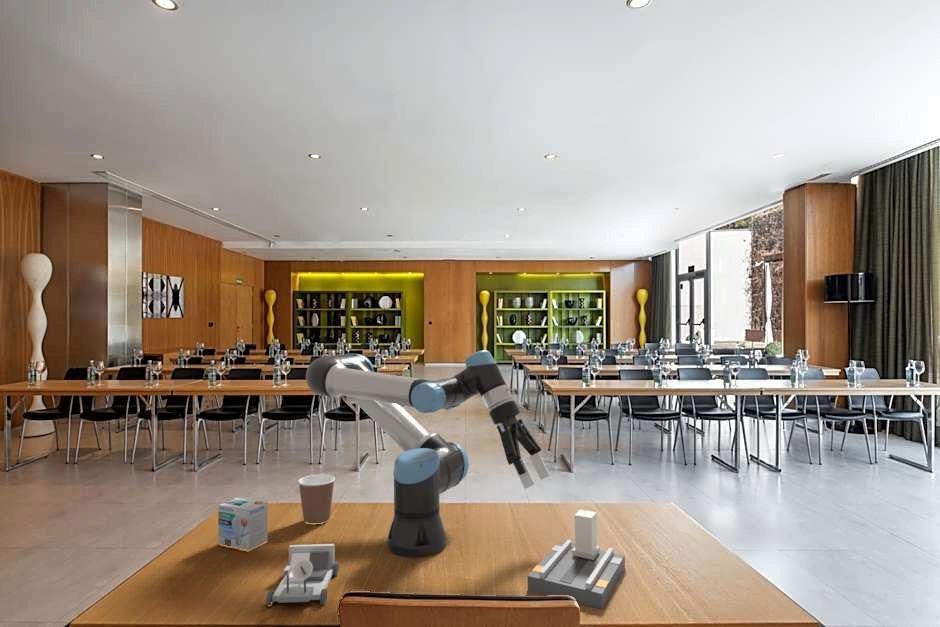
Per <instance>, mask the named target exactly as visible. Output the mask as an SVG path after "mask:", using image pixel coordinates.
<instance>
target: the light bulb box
mask: <svg viewBox="0 0 940 627" xmlns="http://www.w3.org/2000/svg"><path fill="white" fill-rule="evenodd" d="M268 504H269V503H268V501H262V500H256V499H249V498H243V497H235V498H233V499H231V500H228V501H226V502H223V503H221V504H218V522H217V523H218V526H217V527H218V528H217V530H218V532H217V535H218V536H217V537H218V538H217V539H218V540H217V542H218V543H217V545H218V544H222V545H227V546H232V547H237V548H241V549H246V550H250V549H252V548H254V547H256V546H258V545H260V544H262V543H264V542H265V541H267V542H268V510H269V509H268Z"/></svg>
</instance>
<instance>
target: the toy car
mask: <svg viewBox="0 0 940 627" xmlns="http://www.w3.org/2000/svg"><path fill="white" fill-rule="evenodd" d="M339 564H340V563H339V561H335V543H324V544H323V543H322V544H321V543H320V544H319V543H318V544H315V543H314V544H290V545H289V546H288V562H286V564H285V566H284V569H283V578H282V580H281V581H280V583H279V585H278V586H277V588H276V589H275V590H273V589H272V590H271V589H269V590H268V592H267V594H266V600H265V602H266V603H265V604H266V607H267V606H268V605H271V602H273V601H274V602H278V603H279V604H280V603H282V604H283V603H284V604H285V603H307V602H308V603H309V602H310V601H319V604H320V606H325V605H326V603H327V601H328V587H329V584H330V581H331V579H332V576H333V577H337V576H338V574H339V570H340V569H339V567H340V566H339Z"/></svg>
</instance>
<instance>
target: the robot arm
mask: <svg viewBox="0 0 940 627" xmlns="http://www.w3.org/2000/svg"><path fill="white" fill-rule="evenodd" d="M464 364H465V367H466V368H464V369H463V370H461V371H460V372H458V373H456V374H455V375H453V376H451V377H446V378H442V379H435V380H431V379H423V378H415V377H408V376H402V375H395V374H388V373H383V372H382V373H381V372H375V370H374V366H373V363H372V362H371V361H370V359H369V358H368V357H367V356H365V355H363V354H359V353H344V354H336V355H325V356H321V357H318V358H316V359H314V360H313V361H312V362H311V363H310V364H309V366H308V367H307V369H306V373H305V381H306V385H307V387H308V388H309V390H310V391H311V392H312V393H314V394H316V395H318V396H322V397H327V398H340V397H342V398H343V399H344V400H345V401H346V402H347V403H348V404H353V405H354V404H355V405H357V406H358V407H359V408H361V410H363V411H364V413H365V414H367V416H368V417H369V418H370V419H371V420H373V422H374V423H376V424H377V425H378V427H379V428H380V429H381V430H382V431H383V432H384V433H385V434H386V435H387V436H388V437H389V438H390V439H392V440H393V441H394V442H395V444H396V445H398V446H399V448H400V449H401V450H402V451H403V452H401V453H400V454H398V455H397V457H396V458H395V460H394V467H393V471H392V472H393V473H392V474H393V502H394V503H393V506H394V507H393V508H394V509H393V510H394V512H393V513H394V515H393V518H392V522H391V525H390V528H389V531H388V535H387V539H386V541H387V549H388V551H390V552H391V553H392V554H394V555H397V556H401V557H406V558H421V557H427V556H432V555H435V554H437V553H440V552H441V551H442V550H444V549H446V546H447V532H446V531H445V527H444V524H443V520H442V517H441V513H440V495H442V494H443V493H444V492H446V491H448V490H450V489H451V488H454V487H456V486H457V485H459V484H460V482H462V481H463V480H464V479H465V478H466V476H467V474H468V472H469V471H468V470H469V466H470V464H469V457H468V454H467V452H466V450H465V449H464V448H463V447H462V445H460V444H458V443H456V442H452V441H448V442H447V441H446V440H445V439H444V438H443V437H442V436H441V435H440V434H439V433H430V432H429V431H428V430H427V429H426V428H425V427H424V426H423V425H422V424H421V423H419V422H418V421H417V419H415V418H414V417H413V416H412V415H411V414H410V413H409V412H408V411H407V410H406V409H405V408H404V406H406V407H409V408H414V409H416V410H417V411H418V412H419V413H423V414H428V413H430V414H431V413H436V412H437V411H441V410H443V409H444V410H446V411H449V410H452V409H454V408H456V407H459V406H460V405H461V404H462V403H465V402H466V401H467V400H470V399H471V398H473V397H474V396H476V395H480V398H481V399H482V401H483V404H484V406H485V408H486V410H487V411H489V413H488V414H489V416H490V418H491V421H492V423H493V424H494V425H496V429H497V430H498V433H499V437H500V439H501V443H502V447H503V451H504V455H505V458H506V461H507V464H508V465H513V467H514V469H515V471H516V473H517V475H518V477H519V479H520V481H521V484H522V485H523V488H524V489H525V490H526V489H528V488H530V487H532V486H534V485H536V482H535V480H534V478H533V476H532V474H531V472H530V470H529V468H528V466H527V463H526V462H525V459H524V458H522V457H521V450H520V445H521V446H522V448H524V449H525V451H526V452H527V453H528V454H529V455H530V456H529V459H530V461H531V463H532V465H533V467H534V469H535V471H536V473H537V475H538V477H539V480H544V479H546V478H548V477H550V476H551V474H550V472H549V470H548V468H547V465H546V464H545V461H544V459H543V458H542V455H541V454H540V453H541V451H542V448H541V447H540V445H539V444H538V443H537V441H536V440H535V439H534V437H533V436H532V434H531V432H530V431H529V429H528V428H527V427H526V426H525V423H524V421H523V420H522V418H519V419H517V418H516V416H518V415H519V414H520V409H519V407H518V405H517V403H516V401H515V400H513V395H512V393H511V387H508V385H507V383H506V381H505V379H504V377H503V375H502V373H501V371H500V369H499V366H498V364H497V362H496V360H495V359H494V357H493V355H492V353H491V352H490V351H489V350H487V349H482V350H478V351H476V352H473V353H472V354H470V355H468V357H466V358H465V361H464Z"/></svg>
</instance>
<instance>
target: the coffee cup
mask: <svg viewBox="0 0 940 627" xmlns="http://www.w3.org/2000/svg"><path fill="white" fill-rule="evenodd" d="M335 480H336V478H335V476H333V475H330V474H311V475H307V476H304V477H301V478H299V479H298V480H297V483H298V484H299V494H300V500H301V511H302V519H303V522H304V521H305V522H308V523H322V522H325V521H327V520H328V519H329V520H330V517H331V510H332V501H333V492H334V483H335V482H334V481H335Z"/></svg>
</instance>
